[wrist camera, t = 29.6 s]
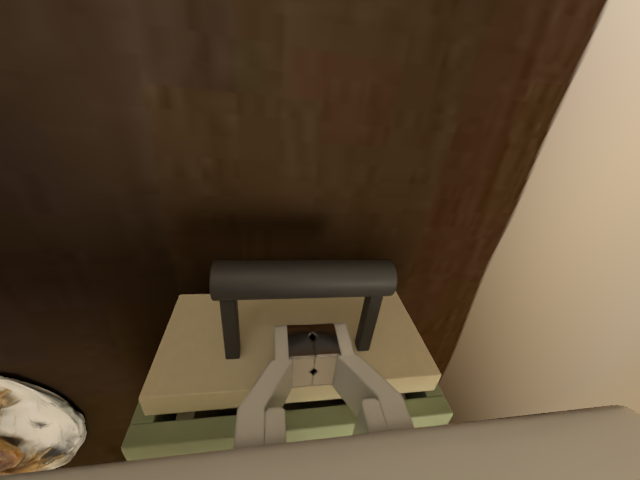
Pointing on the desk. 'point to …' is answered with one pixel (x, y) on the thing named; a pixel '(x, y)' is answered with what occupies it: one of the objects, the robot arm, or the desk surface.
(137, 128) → the desk surface
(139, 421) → the cabinet
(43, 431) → the plate of food
